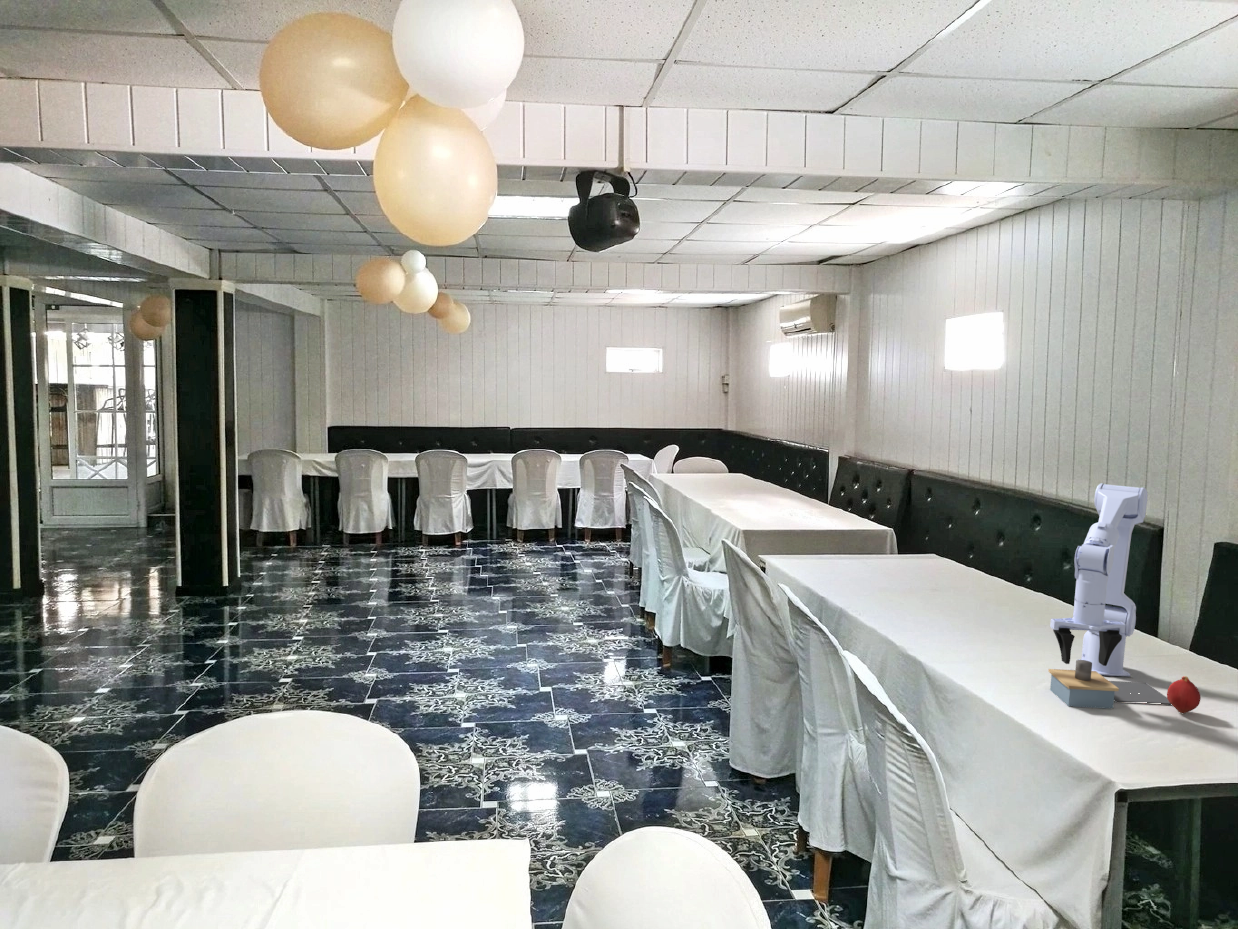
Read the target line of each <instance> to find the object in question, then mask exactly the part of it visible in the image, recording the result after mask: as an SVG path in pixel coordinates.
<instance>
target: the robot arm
mask: <svg viewBox="0 0 1238 929" xmlns="http://www.w3.org/2000/svg"><path fill="white" fill-rule="evenodd" d="M1148 496H1149V495H1148V490H1147V488H1146V487H1137V486H1129V485H1127V486H1125V485H1116V484H1115V485H1114V484H1107V483H1106V484H1105V483H1103V482H1101V483H1098V484H1097V486H1096V489H1095V492H1094V498H1093V499H1094V501H1093V502H1094V508H1095V510H1096V511H1097V514H1098V516H1099V518H1098V522H1095V523H1093V524H1092V525H1091V526H1090V527H1089V530H1088V532H1087V534H1086V537H1085V539H1084V541H1083V544H1081V545H1077V548H1076V550H1075V552H1074V553H1075V554H1074V579H1076V581H1075V591H1074V592H1075V593H1074V603H1073V604H1074V605H1073V614H1072V615H1073V616H1072V617H1063V618H1062V617H1061V618H1050V623H1049V624H1050V625H1049V627H1050V628H1051V629H1052V631H1053V633H1054V635H1055V637H1056V640H1057V642H1058V646H1059V650H1060V657H1061V661H1062V662H1063V663H1064V664H1066V665H1069V664H1070V662H1071V652H1072V646H1073V642H1074V640H1075V638H1076V637H1075V635H1074V634H1073V633H1072V631H1086V632H1085V633H1084V634H1083V638H1082V646H1081V647H1082V649H1081V659H1080V658H1079V659H1077V660H1086V661H1089V662H1091V663H1092V671H1096V672H1097V673H1099V674H1100V675H1101V676H1107V677H1108V676H1112V677H1131V673H1130V672H1128V671H1126V670H1125V669H1124V663H1125V662H1124V660H1125V652H1126V651H1125V650H1126V643H1127V641H1126V639H1127V637H1130V636H1132V635H1133V634H1134V631H1135V626H1136V621H1137V616H1136V615H1137V614H1136V612H1137V606H1136V604H1135V602H1134V601H1133V600H1132V599H1131V598H1130V597H1129V596H1127V595H1126V594H1125V593H1124V592H1125V587H1126V580H1127V571H1128V562H1129V556H1130V548H1131V547H1130V546H1131V539H1132V533H1133V530H1134V527H1135V525H1137V524H1142V523H1144V520H1145V518H1146V511H1147V506H1148ZM1106 604H1107V605H1106ZM1112 605H1113V606H1112Z"/></svg>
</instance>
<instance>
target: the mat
mask: <svg viewBox="0 0 1238 929" xmlns="http://www.w3.org/2000/svg"><path fill="white" fill-rule="evenodd" d="M1108 681H1109V682H1111V683H1112V684H1113V685H1115V686H1116V687H1118V688H1119V691H1115V694H1114V700H1115V701H1114V702H1115V703H1117V702H1147V703H1161V704H1171V703H1170V702H1169V701H1168V699H1167V695H1166V696H1165V695H1164V694H1163V693H1161V692H1159V690H1157V689H1155V688H1154V687H1153V686H1151V685H1150V684H1148V683H1147V682H1141V681H1124V680H1123V681H1120V680H1119V681H1118V680H1108ZM1130 693H1131V694H1130ZM1138 693H1140V694H1138Z"/></svg>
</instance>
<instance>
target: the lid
mask: <svg viewBox="0 0 1238 929" xmlns="http://www.w3.org/2000/svg"><path fill="white" fill-rule="evenodd" d="M1048 673H1049V674H1050V675H1051V674H1052V675H1053V676H1054V677H1055V678H1057V679H1058V680H1059V681H1060V682H1061V683H1062V684H1064V685H1065V686H1066V687H1067V688H1068V689H1082V690H1103V691H1119V688H1118V687H1116V686H1115V685H1113V684H1112V683H1111V682H1109V681H1110V680H1108V679H1107V678H1105V676H1104V675H1100V674H1099V673H1097V672H1096V671H1092V663H1091V662H1089V661H1086V660H1078V659H1077V660H1076V661H1075V669H1056V668H1048Z"/></svg>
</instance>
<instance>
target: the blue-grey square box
mask: <svg viewBox="0 0 1238 929" xmlns="http://www.w3.org/2000/svg"><path fill="white" fill-rule="evenodd" d="M1050 675H1051V677H1050V686H1049V687H1050V688H1049V690H1050V691H1051V693H1053V694H1054V695H1055V696H1056V695H1057V696H1058V697H1057V696H1056V697H1057V698H1059V699H1060V700H1061V702H1063V703H1064V702H1065V703H1066V704H1067V707H1071V706H1073V707H1075V708H1092V709H1093V708H1094V709H1097V708H1098V709H1111V708H1113V709H1114V702H1115V701H1114V694H1115V691H1103V690H1082V689H1068V688H1067V687H1066V686H1065V685H1064V684H1062V683H1061V682H1060V681H1059V680H1058V679H1057V678H1055V677H1054V676H1053V675H1052V674H1051V673H1050ZM1065 703H1064V704H1065ZM1066 704H1065V705H1066Z"/></svg>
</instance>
